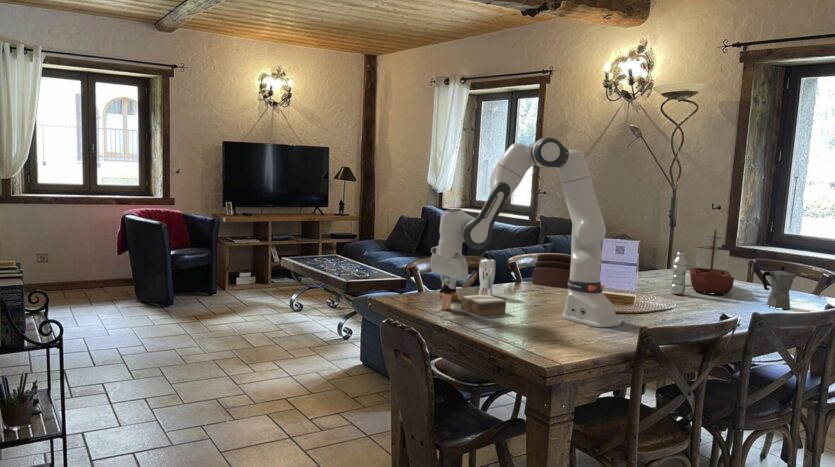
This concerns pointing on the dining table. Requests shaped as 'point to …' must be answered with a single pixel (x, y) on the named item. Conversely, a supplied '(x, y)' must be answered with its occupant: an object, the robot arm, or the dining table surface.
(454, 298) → the ornamental finial
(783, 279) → the coffeepot
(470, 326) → the dining table surface
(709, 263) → the sailing ship
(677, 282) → the plastic bottle
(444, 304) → the grandmother figurine
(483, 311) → the plinth
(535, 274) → the letter holder
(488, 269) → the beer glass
